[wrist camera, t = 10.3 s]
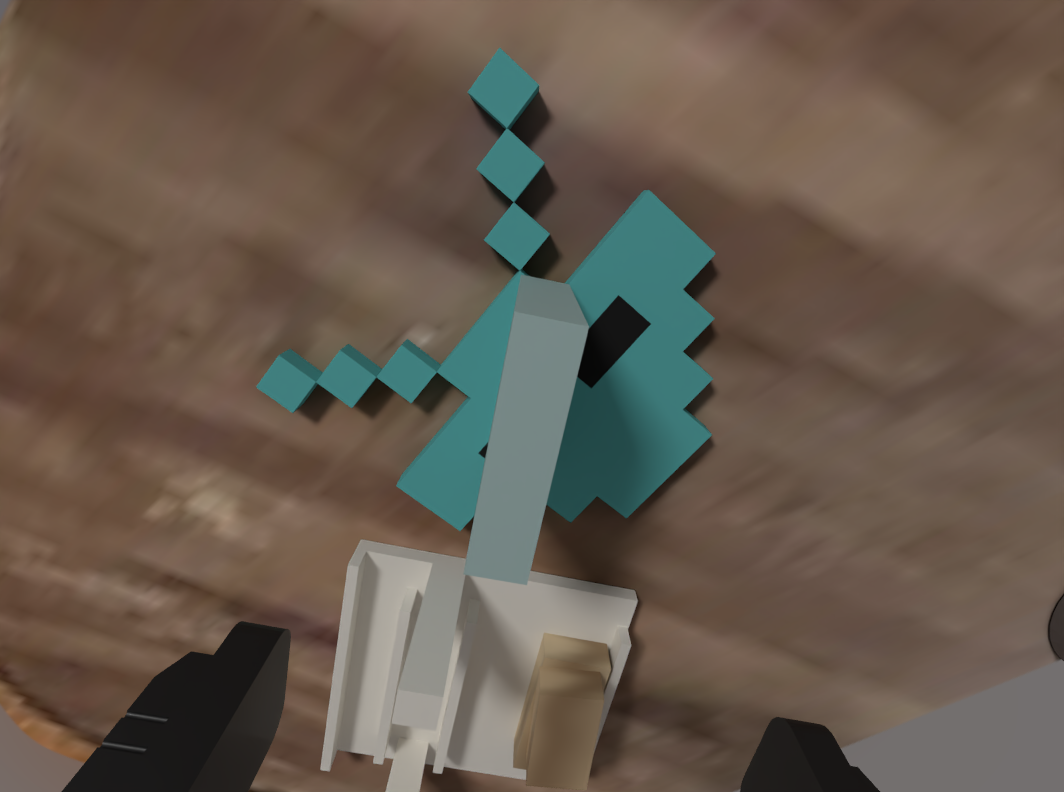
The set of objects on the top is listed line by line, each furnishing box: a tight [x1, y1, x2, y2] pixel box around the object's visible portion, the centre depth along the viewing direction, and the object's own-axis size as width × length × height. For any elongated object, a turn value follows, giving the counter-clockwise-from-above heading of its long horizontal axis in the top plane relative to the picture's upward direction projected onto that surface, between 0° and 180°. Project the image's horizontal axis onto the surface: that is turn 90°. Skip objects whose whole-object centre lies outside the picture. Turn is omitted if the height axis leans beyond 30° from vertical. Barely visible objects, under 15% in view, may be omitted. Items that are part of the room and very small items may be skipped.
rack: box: [320, 539, 638, 792], centre depth 32 cm, size 17×16×10 cm
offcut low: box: [513, 633, 611, 770], centre depth 35 cm, size 4×9×2 cm, turn 167°
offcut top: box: [526, 666, 604, 790], centre depth 33 cm, size 4×7×2 cm, turn 173°
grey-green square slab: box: [464, 275, 589, 585], centre depth 24 cm, size 2×10×10 cm, turn 168°
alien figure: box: [257, 48, 716, 531], centre depth 29 cm, size 20×2×20 cm
